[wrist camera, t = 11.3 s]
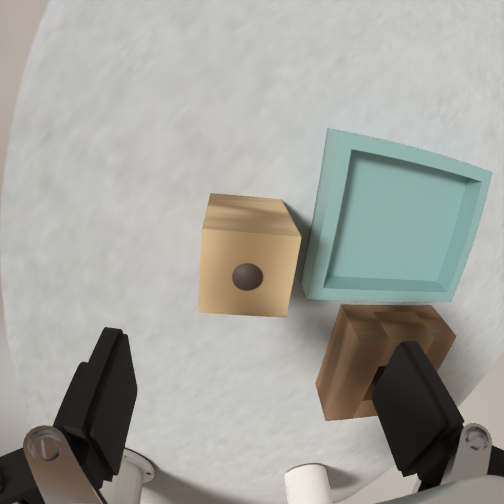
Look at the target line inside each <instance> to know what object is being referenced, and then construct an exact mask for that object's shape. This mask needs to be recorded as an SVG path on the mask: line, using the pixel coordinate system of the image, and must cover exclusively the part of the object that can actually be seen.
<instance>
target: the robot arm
mask: <svg viewBox="0 0 504 504" xmlns="http://www.w3.org/2000/svg"><path fill="white" fill-rule="evenodd" d="M136 397H137V384H136V379H135V374H134V368H133V363H132V357H131V352H130V346H129V340H128V335H127V334H123V331H122V330H121V329H115V328H108V327H105V328H104V329H103V331H102V333H101V335H100V338H99V340H98V342H97V344H96V346H95V348H94V350H93V353H92V355H91V357H90V359H89V362H88V363H87V362H81V363H80V364H79V366H78V368H77V370H76V372H75V374H74V376H73V379H72V381H71V383H70V385H69V388H68V390H67V392H66V395H65V397H64V399H63V402H62V404H61V406H60V409H59V411H58V414H57V416H56V419H55V421H54V424H53V426H45V425H43V426H38V427H35V428H33V429H31V430H30V431H29V433H27V435H26V437H25V438H24V443H23V448H21V449H18V450H16V451H14V452H11V453H9V454H6V455H4V456H1V457H0V504H140V501H141V493H142V486H143V483H147V482H150V481H151V480H153V478H154V474H155V470H154V467H153V466H152V465H151V464H150V463H149V462H148V461H147V460H146V459H144V458H143V457H141V456H140V455H138V454H136V453H134V452H132V451H130V450H127V449H124V447H125V443H126V438H127V434H128V430H129V425H130V421H131V417H132V413H133V409H134V405H135V401H136ZM372 401H373V404H374V407H375V409H376V412H377V415H378V417H379V420H380V422H381V425H382V428H383V430H384V433H385V436H386V439H387V441H388V444H389V447H390V449H391V452H392V455H393V458H394V461H395V463H396V466H397V468H398V470H399V471H401V472H402V475H403V477H406V476H410V475H413V474H416V473H417V475H418V480H417V482H416V484H415V487H414V489H413V491H412V494H411V495H407V496H404V497H400V498H396V499H393V500H388V501H384V502H380V503H376V504H504V450H501V449H499V448H497V447H494V446H493V445H492V438H491V435H490V433H489V432H488V430H487V429H486V428H485V427H483V426H481V425H479V424H476V423H470V424H468V425H466V426H465V427H463V425H462V424H463V423H464V419H463V417H462V416H461V414H460V412H459V410H458V408H457V407H456V405H455V403H454V401H453V399H452V398H451V396H450V394H449V392H448V391H447V389H446V387H445V386H444V384H443V382H442V381H441V379H440V377H439V375H438V374H437V372H436V370H435V369H434V367H433V366H432V364H431V362H430V361H429V359H428V357H427V356H426V354H425V353H424V351H423V349H422V348H421V346H420V345H419V343H418V342H417V341H402V342H401V343H400V344H399V345H398V346H396V348H395V350H394V352H393V354H392V356H391V358H390V360H389V362H388V364H387V366H386V368H385V370H384V372H383V374H382V376H381V378H380V380H379V382H378V384H377V386H376V387H375V389H374V391H373V393H372Z"/></svg>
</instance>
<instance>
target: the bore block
mask: <svg viewBox="0 0 504 504" xmlns="http://www.w3.org/2000/svg"><path fill="white" fill-rule="evenodd" d="M455 338H456V335H455V334H454V333H453V331H452V330H451V329H450V328H449V326H448V325H447V324H446V323H445V322H444V320H443V319H442V318H441V317H440V316H439V314H438V313H437V312H436V311H435V310H434V308H433V307H432V306H394V305H341V306H340V310H339V313H338V316H337V320H336V323H335V326H334V329H333V333H332V336H331V339H330V342H329V345H328V348H327V351H326V354H325V357H324V360H323V363H322V366H321V369H320V372H319V375H318V378H317V380H316V383H315V384H316V388H317V391H318V395H319V398H320V402H321V406H322V409H323V413H324V417H325V420H326V421H331V420H343V419H353V418H362V417H370V416H377V412H376V409H375V407H374V404H373V401H372V393H373V391H374V389H375V385H374V383H373V381H372V380H373V378H374V376H375V374H376V372H377V370H378V368H379V366H387V364H388V362H389V360H390V358H391V356H392V354H393V352H394V350H395V348H396V346H398V345H399V344H400V343H401V342H402V341H417V342H418V343H419V345H420V346H421V348H422V349H423V351H424V353H425V354H426V356H427V357H428V359H429V361H430V362H431V364H432V366H433V367H434V369H435V370H436V372H437V371H438V369H439V367H440V365H441V364H442V362H443V360H444V358H445V357H446V355H447V353H448V351H449V349H450V347H451V345H452V343H453V341H454V340H455Z"/></svg>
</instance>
